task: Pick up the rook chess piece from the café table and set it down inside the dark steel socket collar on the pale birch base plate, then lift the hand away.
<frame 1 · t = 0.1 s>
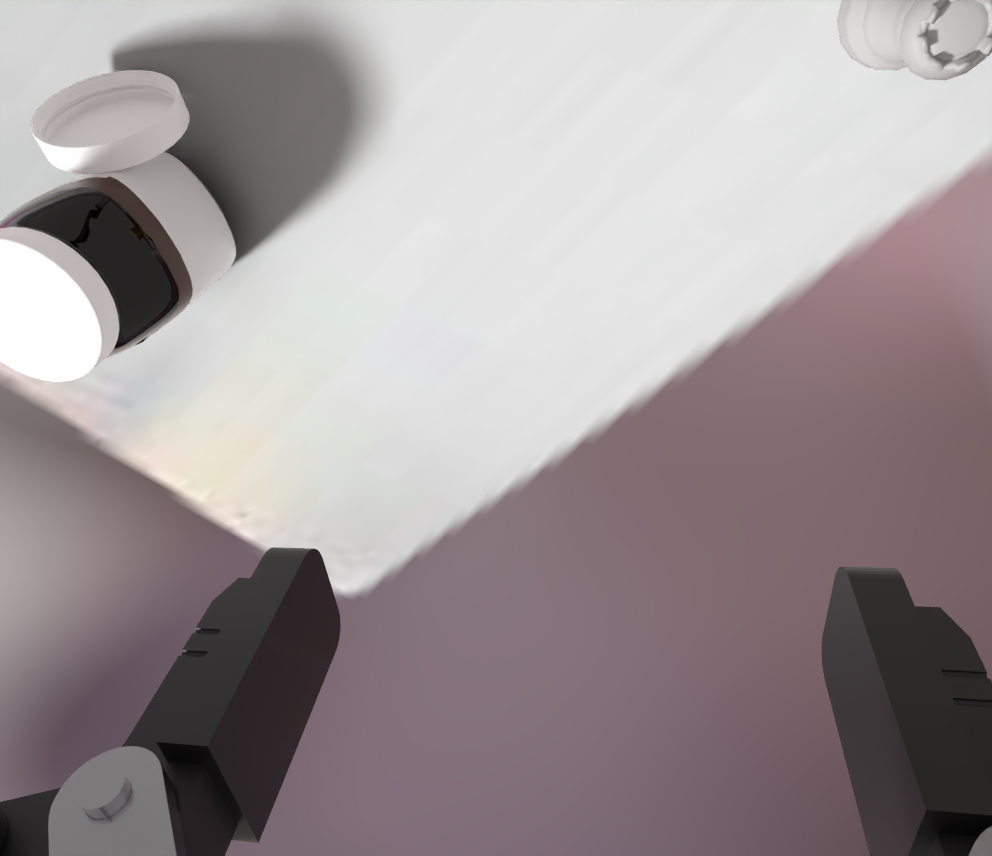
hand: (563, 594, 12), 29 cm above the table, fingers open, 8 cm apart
spread jar: (158, 186, 40), on the table
rook chess piece: (890, 8, 31), on the table
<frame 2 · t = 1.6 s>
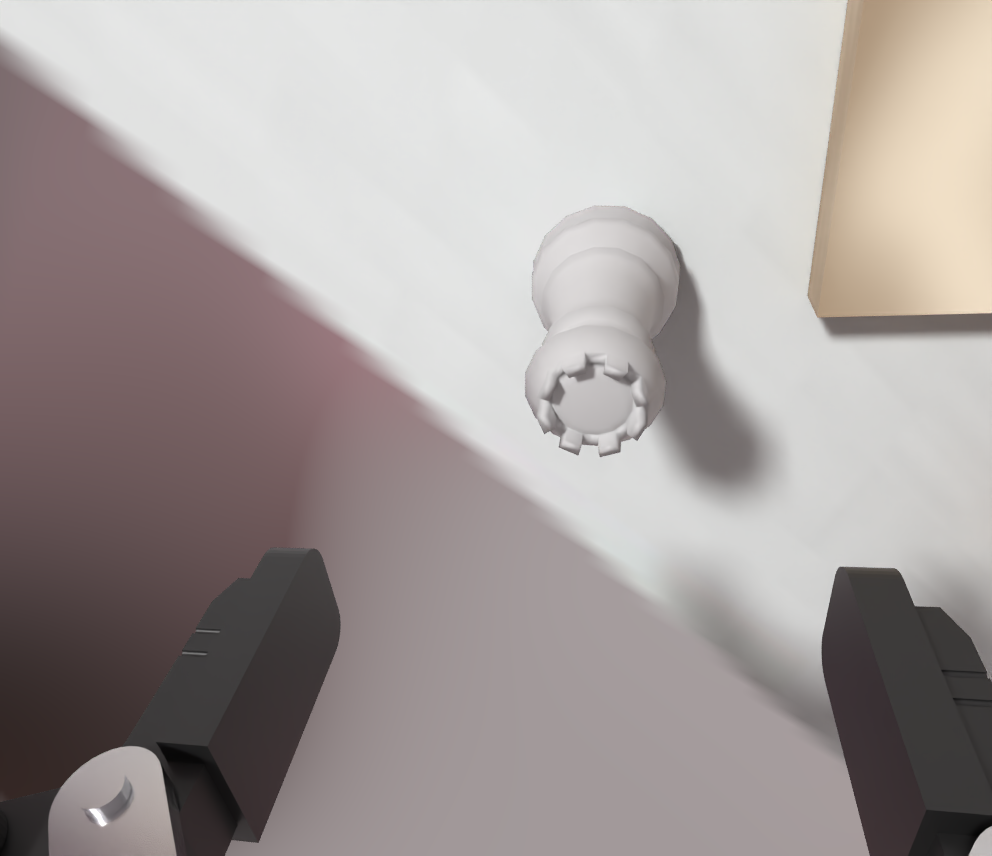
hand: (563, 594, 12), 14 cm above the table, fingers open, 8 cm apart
rook chess piece: (605, 269, 23), on the table
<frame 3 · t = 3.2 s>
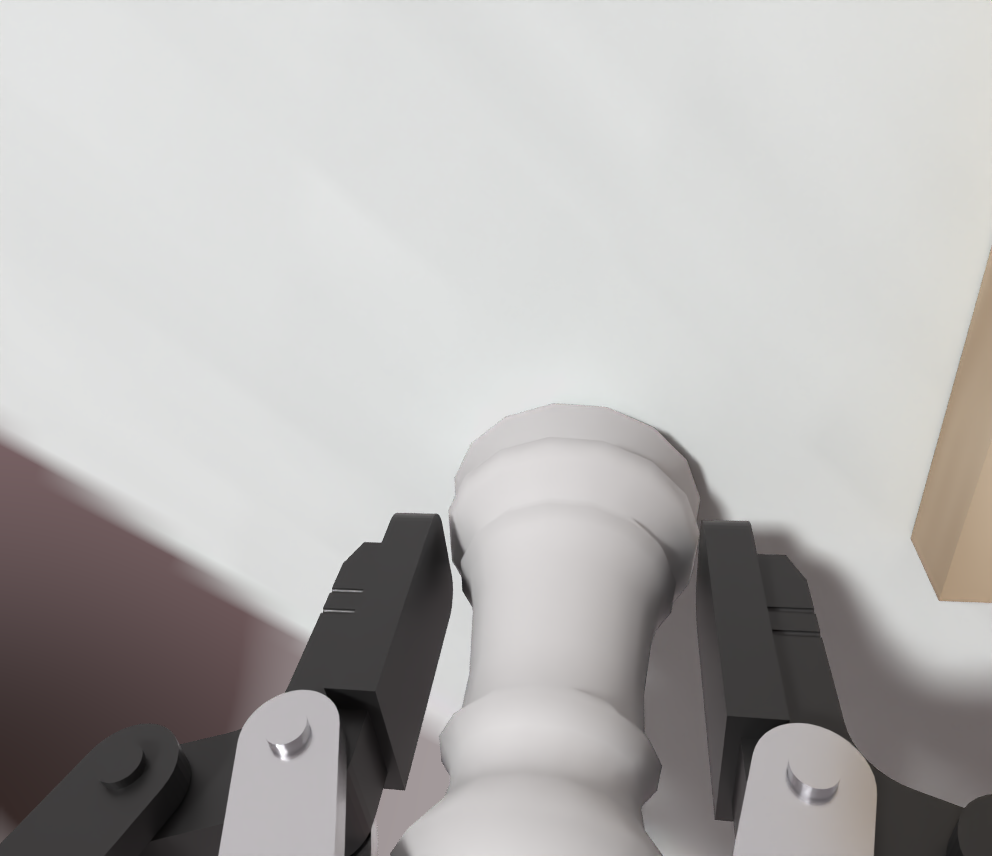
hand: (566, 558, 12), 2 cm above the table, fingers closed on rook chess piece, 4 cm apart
rook chess piece: (576, 483, 14), on the table, touching gripper
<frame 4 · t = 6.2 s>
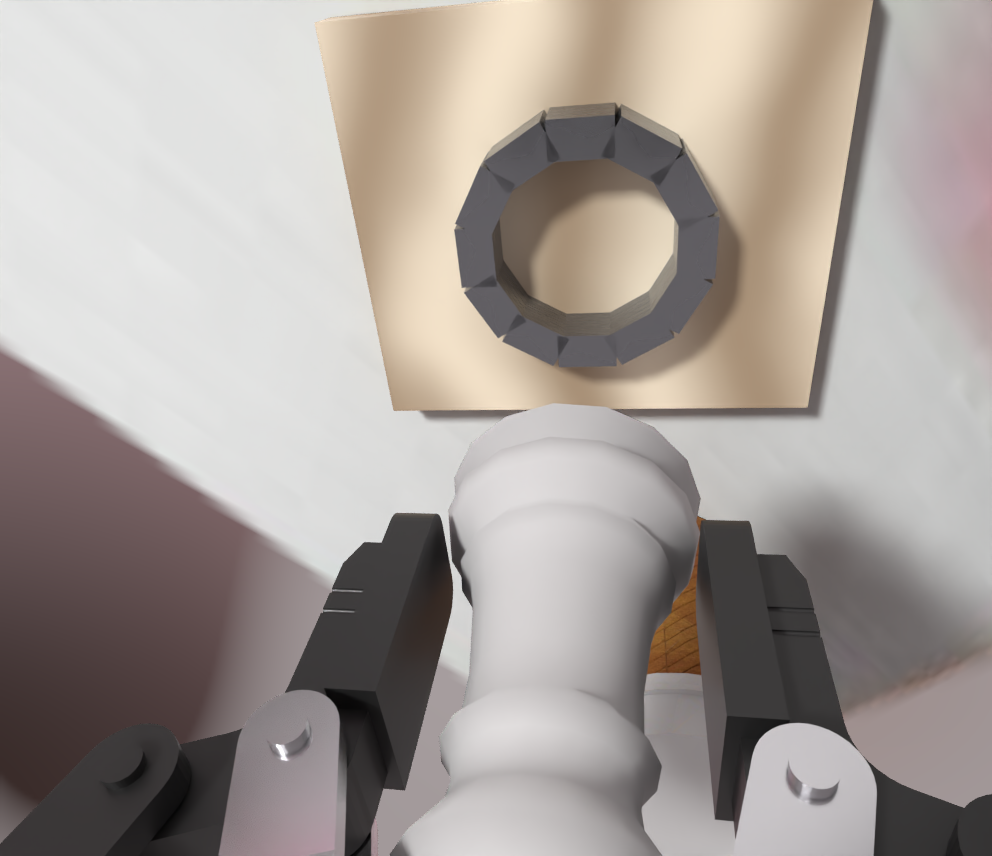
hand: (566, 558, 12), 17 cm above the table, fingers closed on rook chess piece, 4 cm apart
disposable coffee cup: (662, 556, 35), on the table
steel socket collar: (585, 243, 24), on the birch base plate, point 2 cm above the table
rook chess piece: (576, 483, 14), point 15 cm above the table, touching gripper
birch base plate: (587, 219, 26), on the table
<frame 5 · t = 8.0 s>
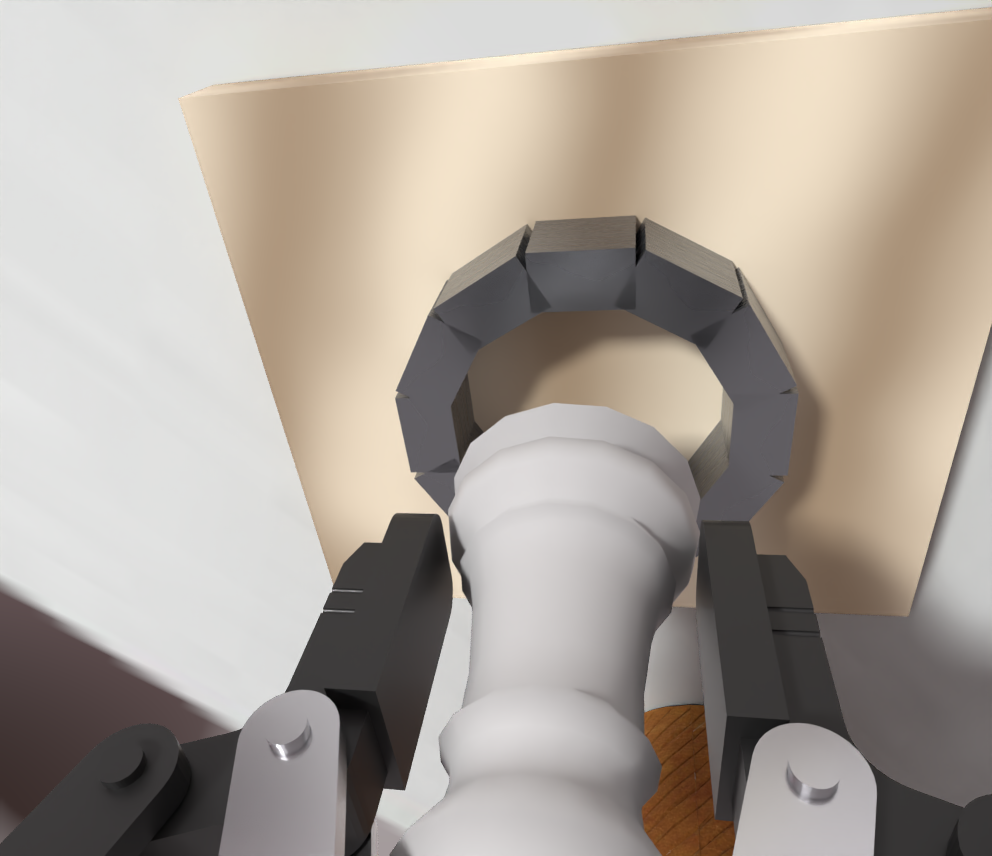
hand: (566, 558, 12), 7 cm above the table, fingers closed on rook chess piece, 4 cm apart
disposable coffee cup: (695, 752, 27), on the table
steel socket collar: (590, 413, 16), on the birch base plate, point 2 cm above the table
rook chess piece: (575, 483, 14), point 5 cm above the table, touching gripper
birch base plate: (595, 361, 18), on the table
when the fingers open (5 cm above the table, at t = 9.4 s): rook chess piece drops 1 cm, resting on birch base plate.
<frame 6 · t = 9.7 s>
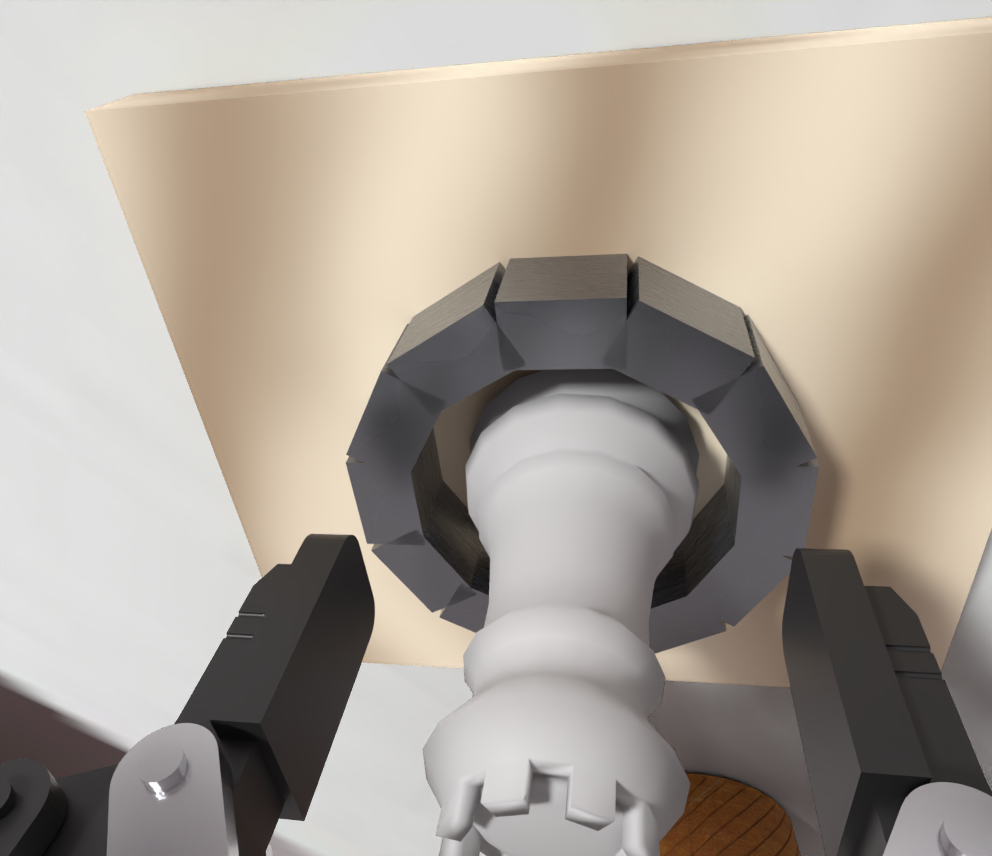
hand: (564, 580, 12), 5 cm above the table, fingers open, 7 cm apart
disposable coffee cup: (691, 819, 25), on the table
steel socket collar: (574, 478, 14), on the birch base plate, point 2 cm above the table
rook chess piece: (583, 444, 15), point 1 cm above the table, touching birch base plate
birch base plate: (581, 410, 16), on the table
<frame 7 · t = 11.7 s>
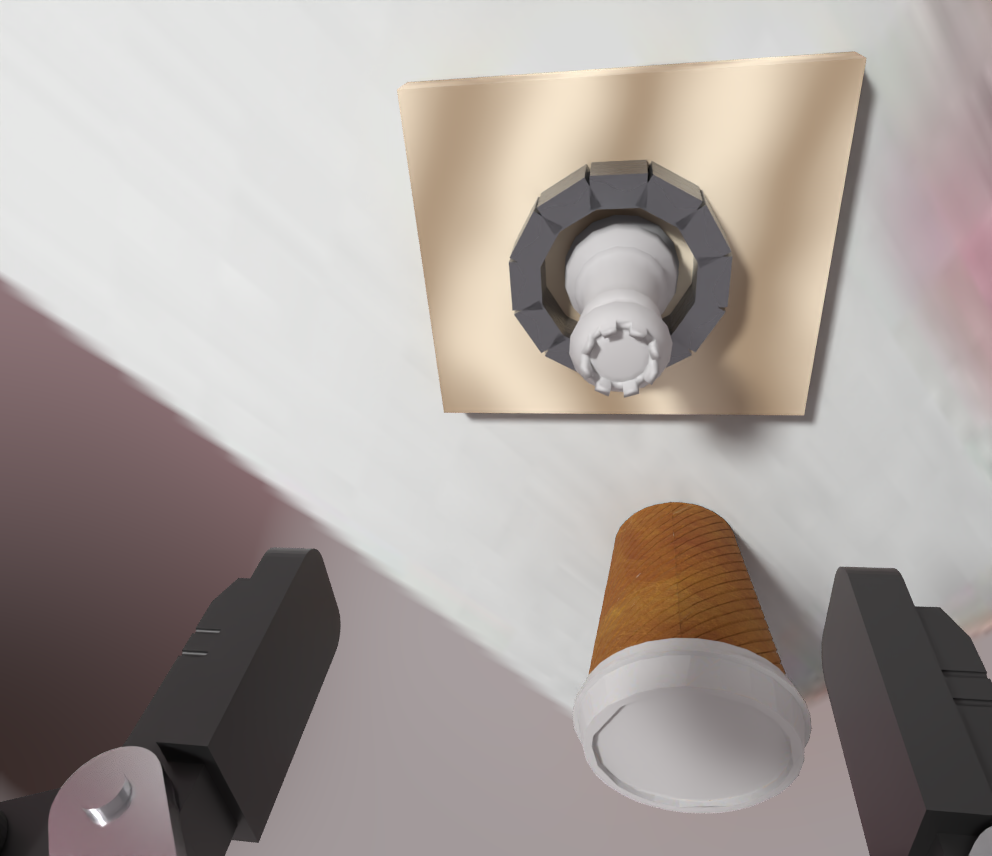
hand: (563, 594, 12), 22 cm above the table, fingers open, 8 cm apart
disposable coffee cup: (674, 544, 40), on the table
steel socket collar: (617, 275, 29), on the birch base plate, point 2 cm above the table
rook chess piece: (620, 263, 30), point 1 cm above the table, touching birch base plate
birch base plate: (618, 252, 31), on the table
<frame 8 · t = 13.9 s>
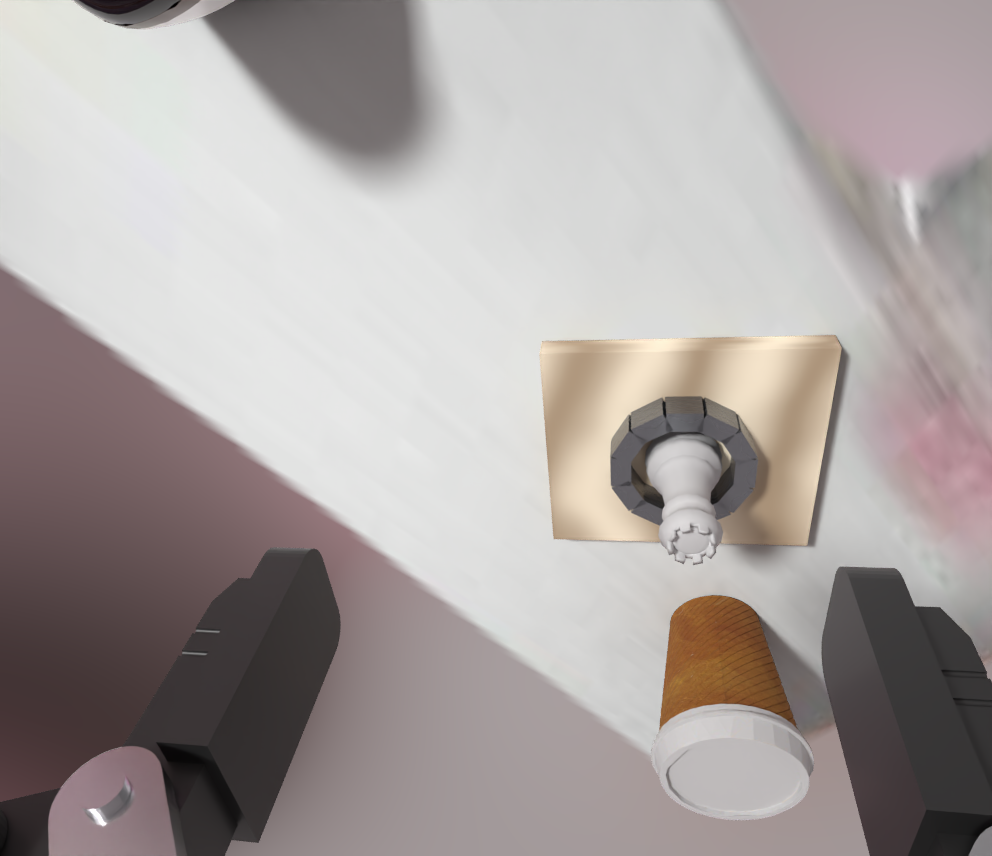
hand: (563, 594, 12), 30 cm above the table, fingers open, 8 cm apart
disposable coffee cup: (713, 623, 54), on the table
steel socket collar: (681, 463, 44), on the birch base plate, point 2 cm above the table
rook chess piece: (682, 452, 44), point 1 cm above the table, touching birch base plate
birch base plate: (679, 440, 45), on the table
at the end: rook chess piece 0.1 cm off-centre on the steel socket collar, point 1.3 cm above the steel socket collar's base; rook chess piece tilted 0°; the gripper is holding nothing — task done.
